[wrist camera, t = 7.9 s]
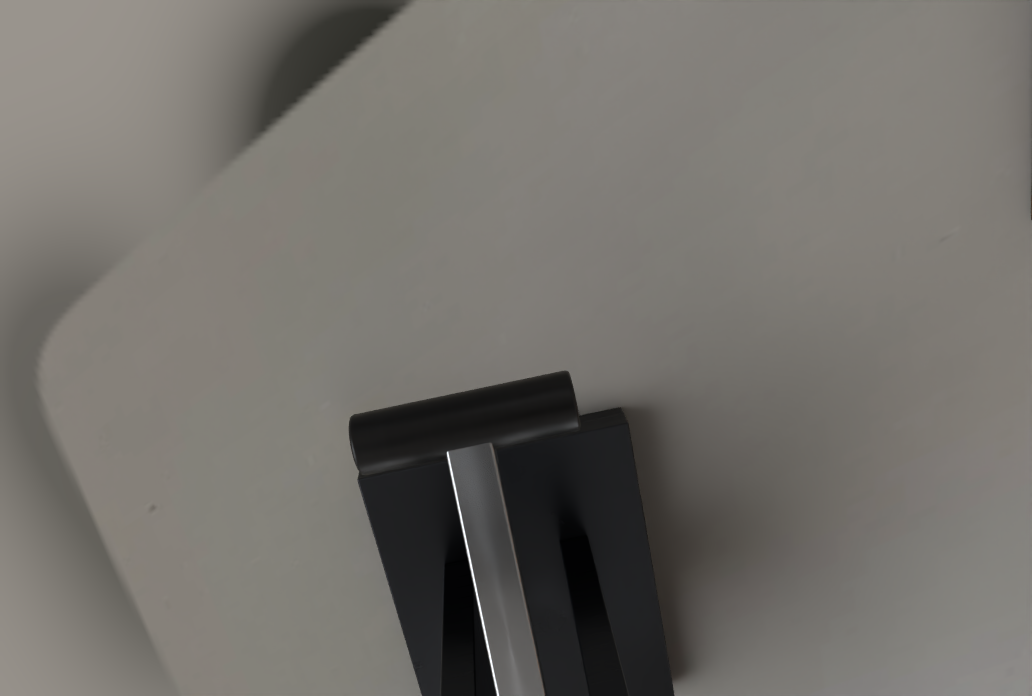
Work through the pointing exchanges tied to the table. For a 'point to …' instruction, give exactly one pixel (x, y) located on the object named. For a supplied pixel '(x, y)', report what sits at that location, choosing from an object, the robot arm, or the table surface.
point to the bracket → (531, 566)
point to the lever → (479, 494)
